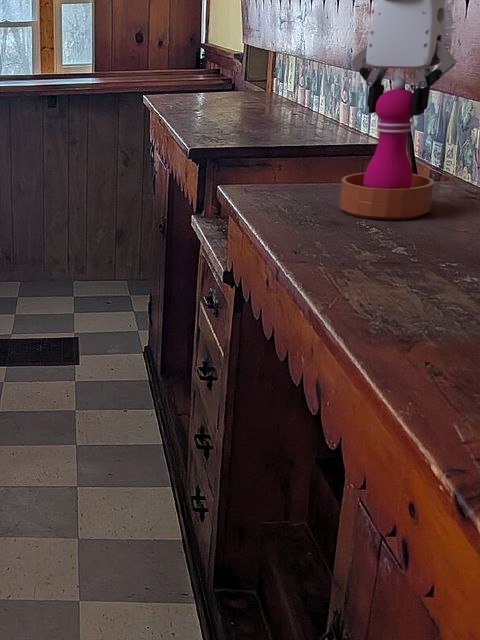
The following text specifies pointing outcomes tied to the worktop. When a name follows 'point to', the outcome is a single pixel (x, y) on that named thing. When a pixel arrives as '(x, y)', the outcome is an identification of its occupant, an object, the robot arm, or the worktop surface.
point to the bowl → (386, 198)
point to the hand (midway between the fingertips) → (395, 112)
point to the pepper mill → (392, 140)
